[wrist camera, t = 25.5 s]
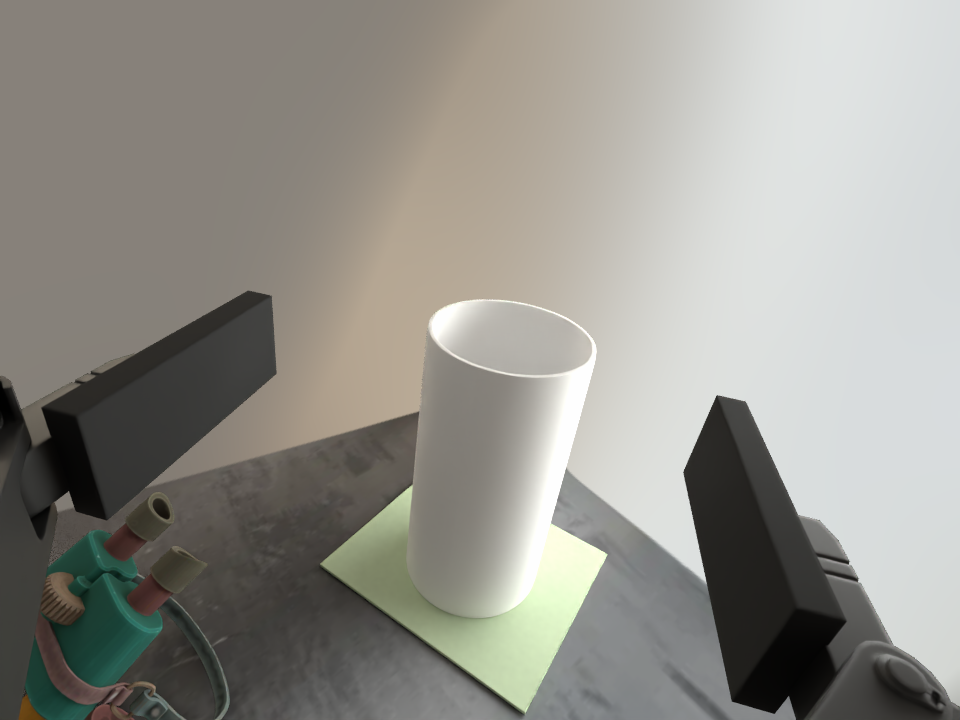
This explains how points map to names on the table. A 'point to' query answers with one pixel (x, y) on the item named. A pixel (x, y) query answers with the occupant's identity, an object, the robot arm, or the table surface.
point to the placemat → (473, 641)
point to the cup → (492, 450)
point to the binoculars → (111, 624)
